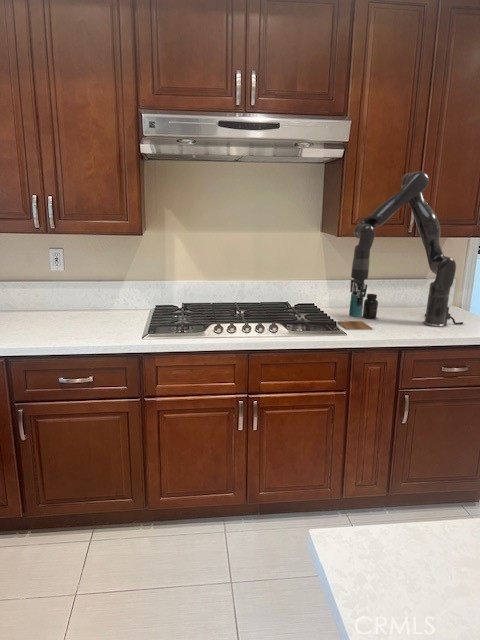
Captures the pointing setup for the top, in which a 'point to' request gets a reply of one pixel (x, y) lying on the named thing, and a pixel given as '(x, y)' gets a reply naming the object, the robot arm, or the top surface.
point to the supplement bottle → (370, 306)
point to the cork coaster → (354, 325)
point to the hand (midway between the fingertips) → (356, 303)
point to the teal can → (355, 306)
